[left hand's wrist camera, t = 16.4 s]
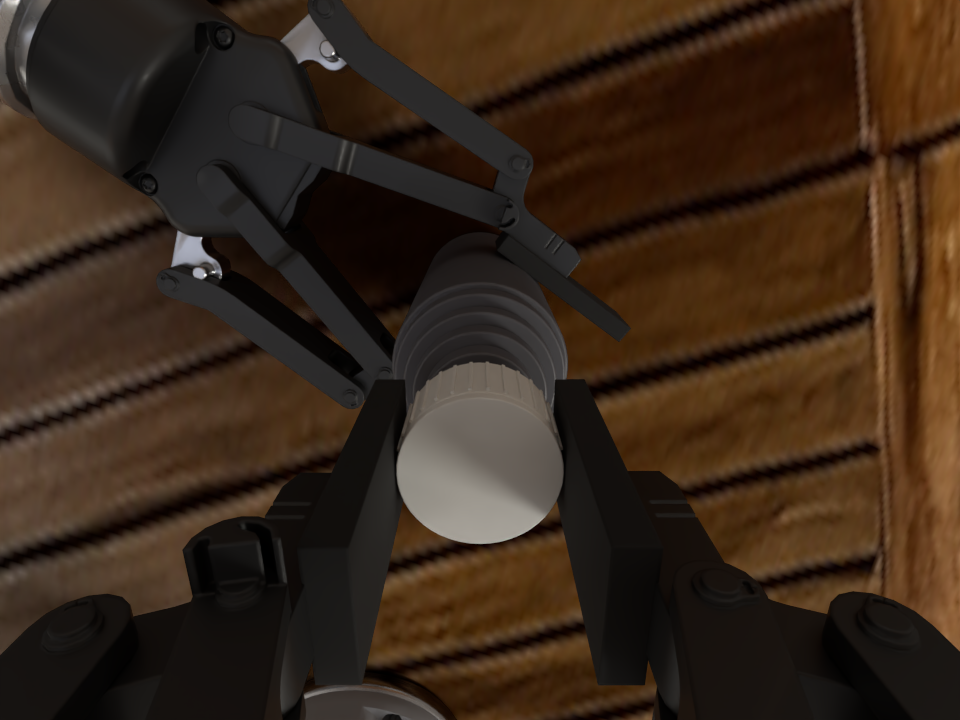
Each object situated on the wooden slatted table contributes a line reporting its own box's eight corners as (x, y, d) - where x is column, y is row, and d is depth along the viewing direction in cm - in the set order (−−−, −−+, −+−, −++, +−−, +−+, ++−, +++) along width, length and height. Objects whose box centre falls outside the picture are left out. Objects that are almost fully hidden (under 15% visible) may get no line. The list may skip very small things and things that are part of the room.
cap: (551, 492, 15) (563, 546, 13) (409, 493, 15) (398, 547, 13) (557, 358, 14) (570, 394, 12) (401, 360, 14) (387, 396, 12)
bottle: (403, 285, 31) (300, 459, 13) (481, 208, 29) (482, 285, 12) (478, 358, 32) (477, 603, 14) (556, 287, 31) (659, 464, 13)
